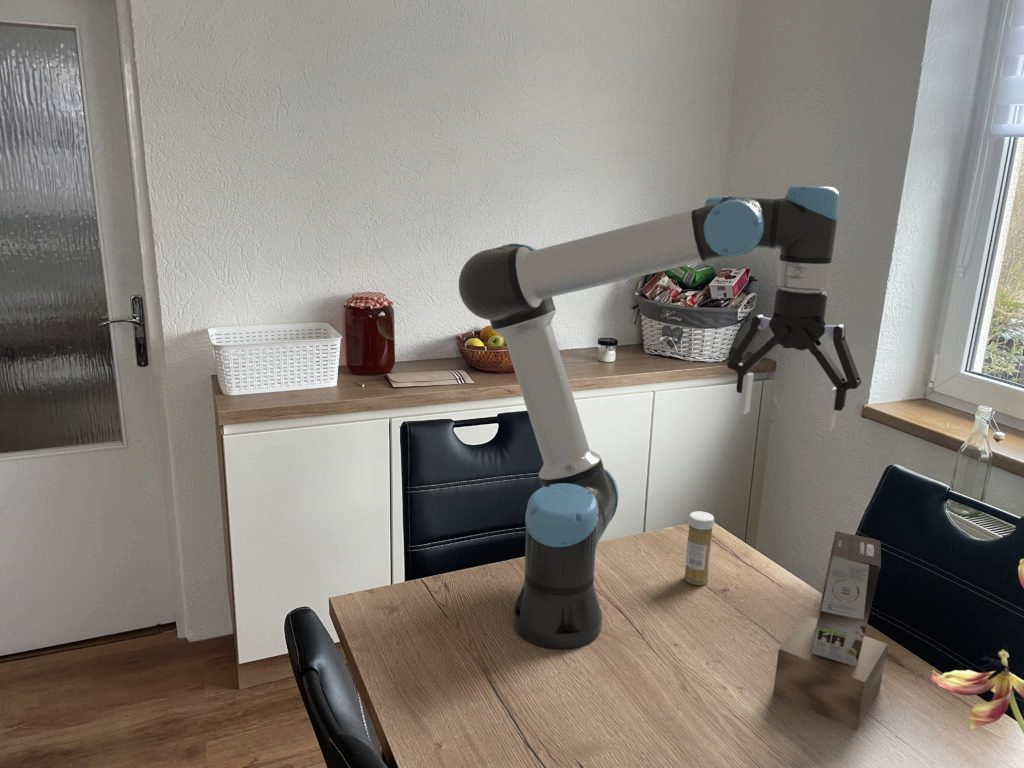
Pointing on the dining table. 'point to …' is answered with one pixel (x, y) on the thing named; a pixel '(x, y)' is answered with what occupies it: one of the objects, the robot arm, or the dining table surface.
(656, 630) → the dining table surface
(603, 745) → the dining table surface
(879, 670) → the walnut block
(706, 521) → the sprinkles bottle
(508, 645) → the dining table surface
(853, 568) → the coffee box
